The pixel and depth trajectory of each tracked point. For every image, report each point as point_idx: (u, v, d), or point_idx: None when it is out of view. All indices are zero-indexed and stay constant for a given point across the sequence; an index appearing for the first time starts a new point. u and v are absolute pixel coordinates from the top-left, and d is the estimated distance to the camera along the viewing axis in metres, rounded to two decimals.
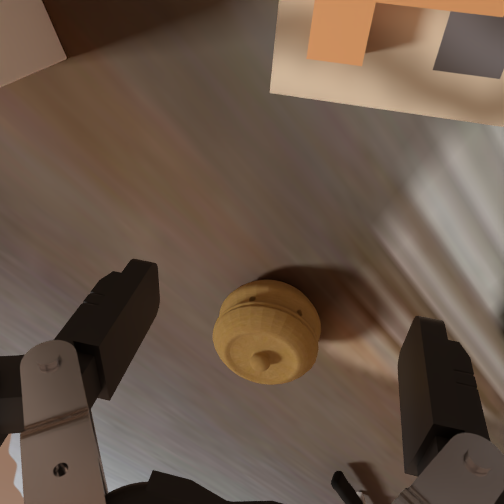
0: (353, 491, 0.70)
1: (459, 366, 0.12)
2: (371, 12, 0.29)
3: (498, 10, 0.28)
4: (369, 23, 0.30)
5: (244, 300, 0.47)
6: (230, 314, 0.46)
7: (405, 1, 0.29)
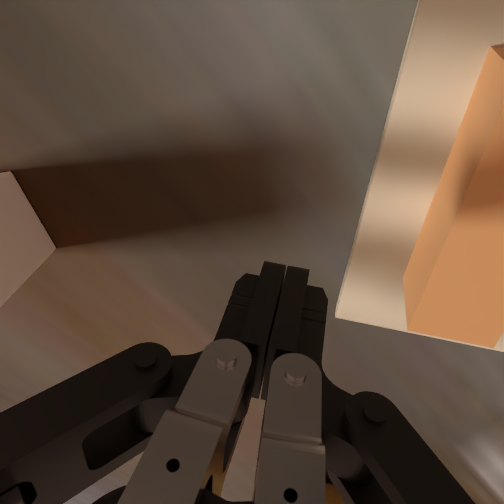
0: None
1: (315, 306, 0.13)
2: None
3: None
4: None
5: None
6: None
7: None
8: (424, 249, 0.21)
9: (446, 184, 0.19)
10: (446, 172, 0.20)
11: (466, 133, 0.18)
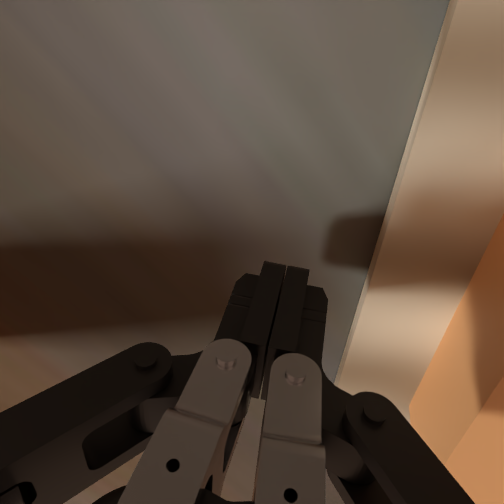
0: None
1: (315, 306, 0.13)
2: None
3: None
4: None
5: None
6: None
7: None
8: (441, 392, 0.15)
9: (474, 313, 0.13)
10: (473, 293, 0.14)
11: None
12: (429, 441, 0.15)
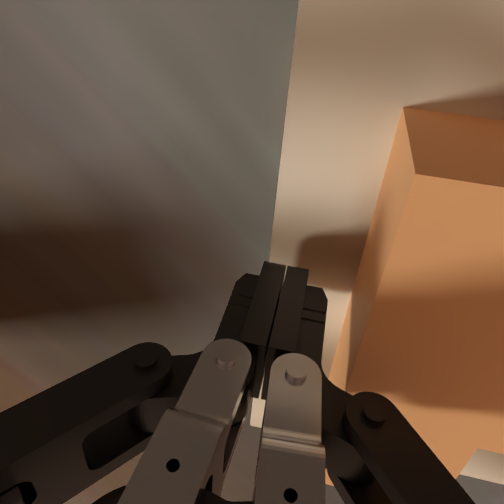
0: None
1: (315, 306, 0.13)
2: (464, 457, 0.13)
3: None
4: (457, 469, 0.13)
5: None
6: None
7: None
8: (337, 371, 0.15)
9: (357, 292, 0.14)
10: (359, 273, 0.14)
11: (375, 230, 0.12)
12: None
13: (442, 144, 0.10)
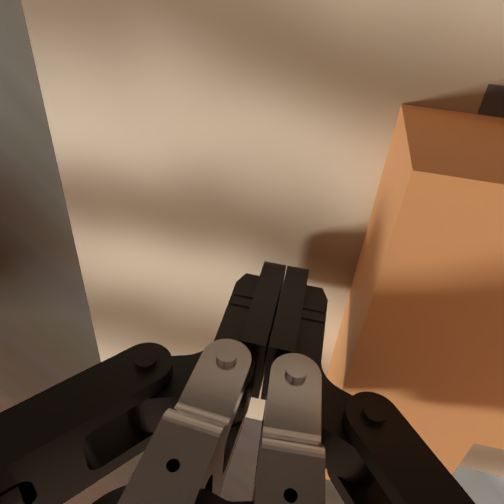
0: None
1: (315, 306, 0.13)
2: (461, 452, 0.13)
3: None
4: (454, 464, 0.14)
5: None
6: None
7: None
8: (335, 367, 0.15)
9: (356, 288, 0.14)
10: (358, 269, 0.14)
11: (373, 226, 0.12)
12: None
13: (440, 141, 0.10)
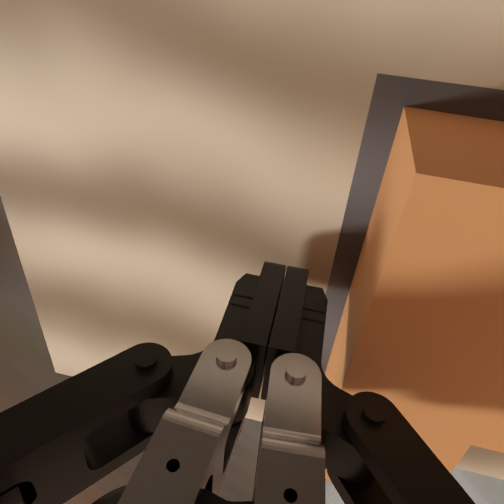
0: None
1: (315, 306, 0.13)
2: (458, 454, 0.13)
3: None
4: (451, 465, 0.14)
5: None
6: None
7: None
8: (334, 368, 0.15)
9: (355, 290, 0.14)
10: (358, 270, 0.14)
11: (374, 228, 0.12)
12: None
13: (443, 144, 0.10)
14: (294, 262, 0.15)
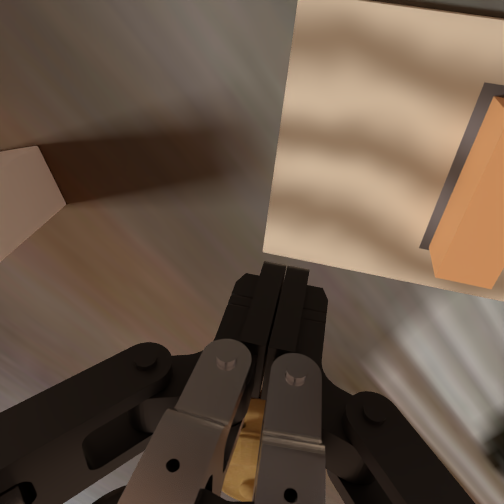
0: None
1: (315, 306, 0.13)
2: None
3: None
4: None
5: None
6: None
7: None
8: (447, 223, 0.32)
9: (463, 180, 0.30)
10: (463, 172, 0.31)
11: (477, 148, 0.29)
12: (441, 247, 0.32)
13: None
14: (429, 172, 0.32)
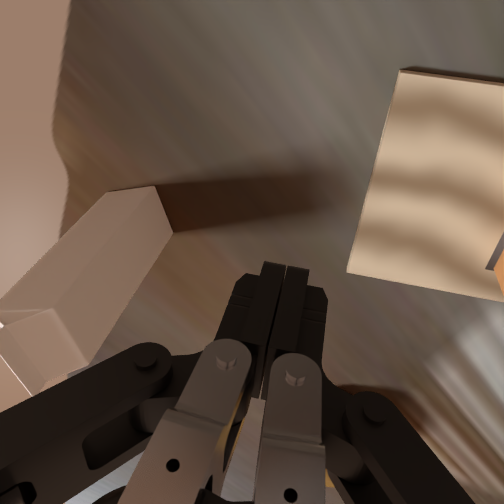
0: None
1: (315, 306, 0.13)
2: None
3: None
4: None
5: None
6: None
7: None
8: None
9: None
10: None
11: None
12: None
13: None
14: (498, 209, 0.39)
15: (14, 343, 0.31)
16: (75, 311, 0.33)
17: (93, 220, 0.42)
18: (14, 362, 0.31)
